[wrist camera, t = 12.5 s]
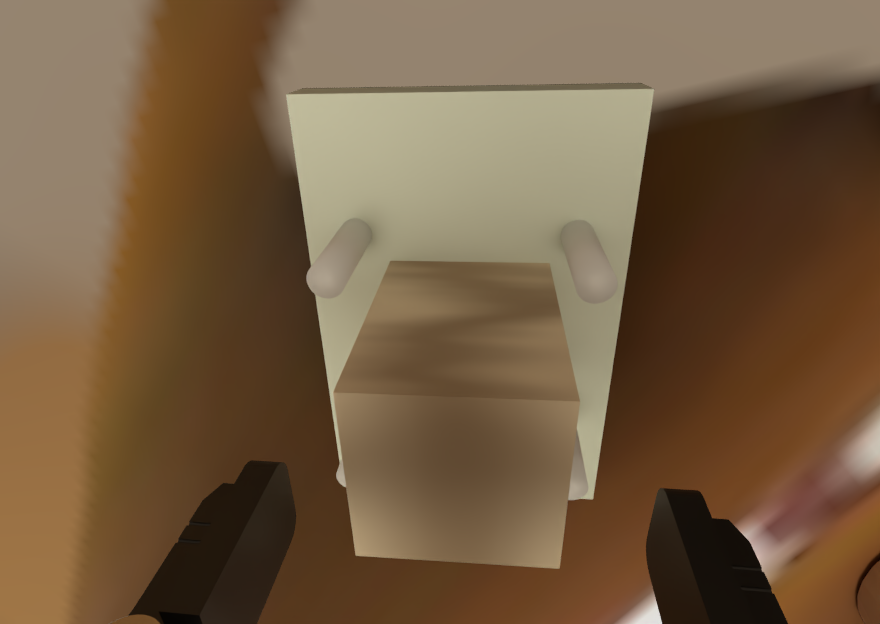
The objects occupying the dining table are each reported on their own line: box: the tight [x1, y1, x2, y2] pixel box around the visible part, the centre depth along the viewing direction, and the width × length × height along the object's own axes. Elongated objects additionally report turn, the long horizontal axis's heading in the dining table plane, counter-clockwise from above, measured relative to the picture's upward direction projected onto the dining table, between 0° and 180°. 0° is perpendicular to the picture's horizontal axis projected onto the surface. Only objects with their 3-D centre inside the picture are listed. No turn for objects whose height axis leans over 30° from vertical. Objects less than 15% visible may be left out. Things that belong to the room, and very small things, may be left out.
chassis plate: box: [286, 83, 654, 500], centre depth 18 cm, size 10×15×5 cm, turn 1°
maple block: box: [333, 261, 580, 569], centre depth 15 cm, size 5×5×7 cm
